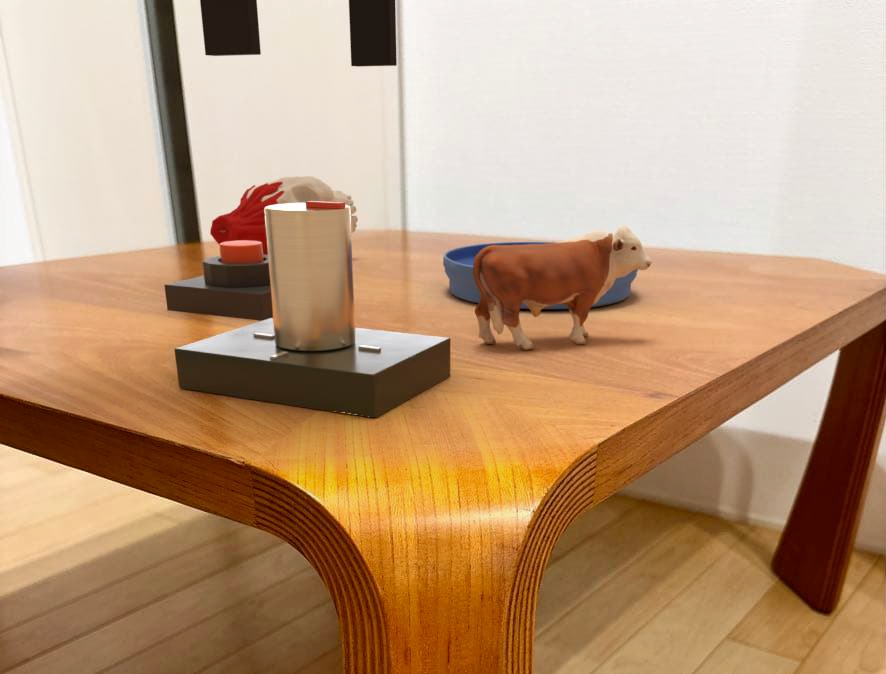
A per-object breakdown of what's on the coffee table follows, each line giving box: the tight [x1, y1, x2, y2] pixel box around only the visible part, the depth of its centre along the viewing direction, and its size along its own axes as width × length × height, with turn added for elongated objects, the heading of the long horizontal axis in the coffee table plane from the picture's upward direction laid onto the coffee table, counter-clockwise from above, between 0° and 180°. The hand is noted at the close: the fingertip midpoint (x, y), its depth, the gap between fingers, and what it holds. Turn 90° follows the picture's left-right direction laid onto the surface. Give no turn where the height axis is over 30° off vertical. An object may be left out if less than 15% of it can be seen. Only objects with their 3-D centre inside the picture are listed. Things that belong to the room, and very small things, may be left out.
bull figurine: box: [473, 225, 653, 350], centre depth 66 cm, size 4×13×8 cm, turn 105°
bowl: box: [442, 241, 639, 310], centre depth 85 cm, size 18×18×4 cm
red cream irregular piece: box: [209, 175, 359, 255], centre depth 103 cm, size 9×11×15 cm
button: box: [218, 240, 264, 263], centre depth 78 cm, size 4×4×2 cm
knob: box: [264, 201, 356, 351], centre depth 55 cm, size 5×5×8 cm
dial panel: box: [174, 318, 451, 418], centre depth 57 cm, size 14×10×3 cm
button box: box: [163, 255, 273, 321], centre depth 79 cm, size 10×9×4 cm
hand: (311, 62), depth 49 cm, fingers open, 13 cm apart
